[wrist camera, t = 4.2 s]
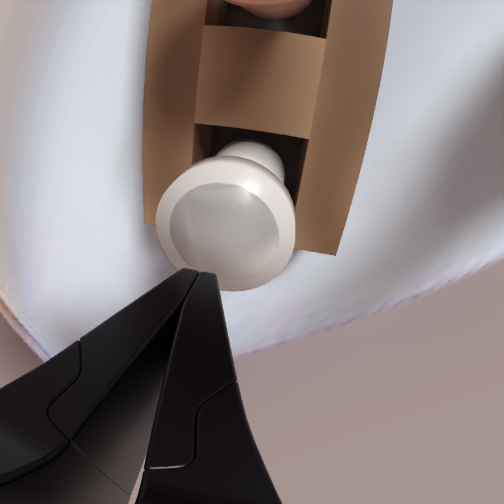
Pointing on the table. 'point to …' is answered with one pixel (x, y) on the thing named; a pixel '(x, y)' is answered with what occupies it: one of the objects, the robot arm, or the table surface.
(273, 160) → the grey plug
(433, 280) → the table surface
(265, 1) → the terracotta plug middle
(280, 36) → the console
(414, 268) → the table surface
